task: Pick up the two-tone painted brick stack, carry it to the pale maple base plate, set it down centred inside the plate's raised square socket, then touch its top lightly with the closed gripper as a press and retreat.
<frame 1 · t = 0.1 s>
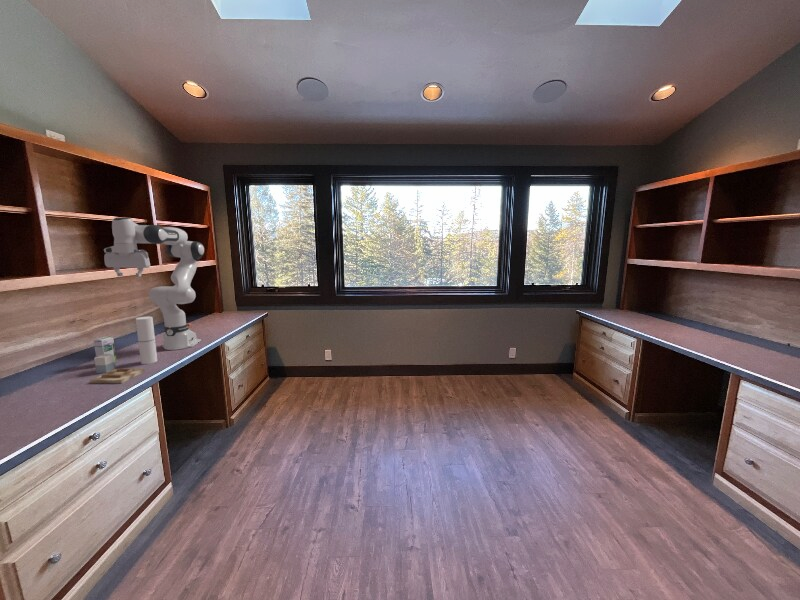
hand: (129, 276, 161), 48 cm above the table, fingers open, 8 cm apart
cylindrical container: (149, 362, 173), on the table
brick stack: (105, 370, 159), on the table
syrup box: (107, 364, 169), on the table
base plate: (118, 377, 152), on the table
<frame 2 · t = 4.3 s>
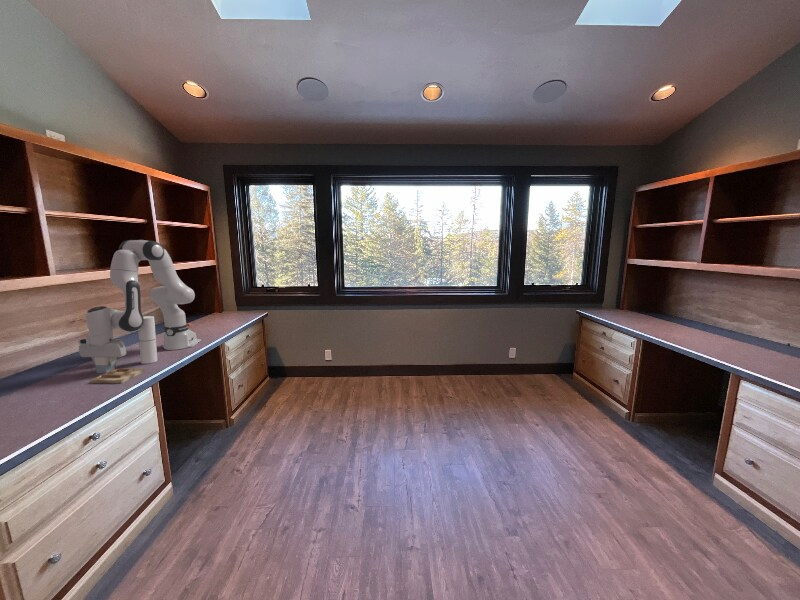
hand: (105, 365, 159), 3 cm above the table, fingers closed on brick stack, 5 cm apart
cylindrical container: (149, 361, 172), on the table, touching arm
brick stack: (105, 370, 159), on the table, touching gripper
everything else where it was.
when the fingers open (6 cm above the table, at t = 10.4 s): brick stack stays where it is, resting on base plate.
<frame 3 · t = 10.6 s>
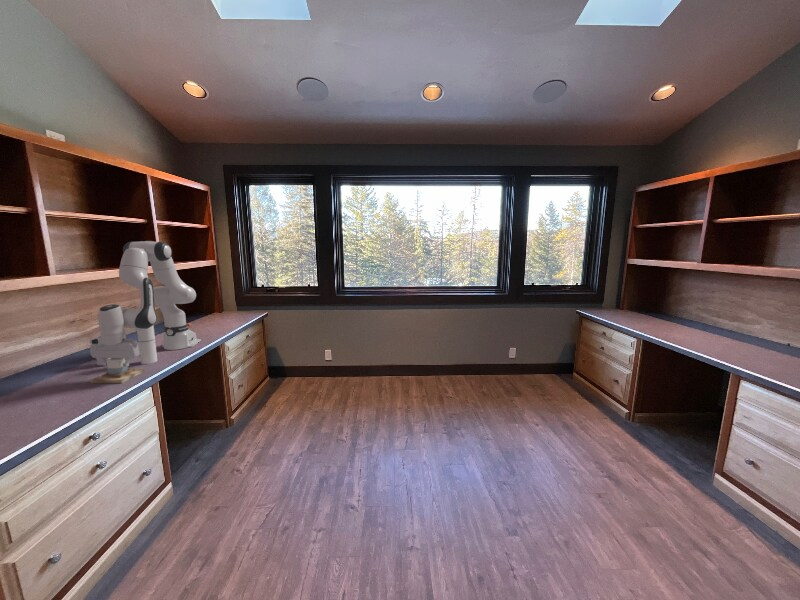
hand: (117, 366, 151), 6 cm above the table, fingers open, 7 cm apart
cylindrical container: (149, 362, 173), on the table
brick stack: (118, 374, 152), point 1 cm above the table, touching base plate
everything else where it was.
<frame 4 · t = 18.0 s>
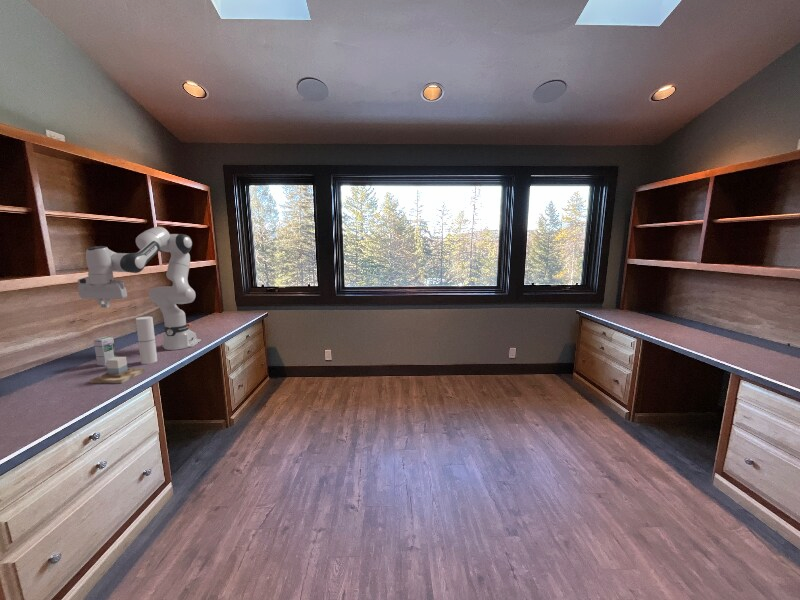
hand: (105, 307, 154), 33 cm above the table, fingers closed
nothing on the table moved.
at the end: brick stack 0.0 cm off-centre on the base plate, point 1.5 cm above the base plate's base; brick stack tilted 0°; the gripper is holding nothing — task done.
